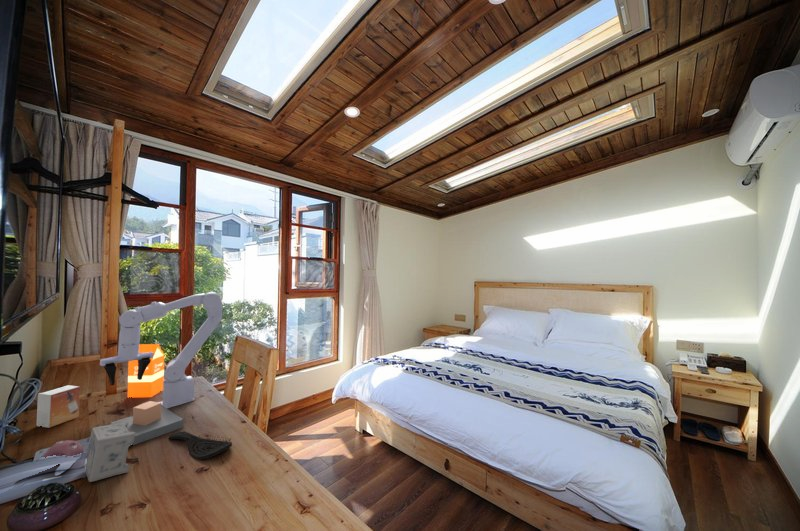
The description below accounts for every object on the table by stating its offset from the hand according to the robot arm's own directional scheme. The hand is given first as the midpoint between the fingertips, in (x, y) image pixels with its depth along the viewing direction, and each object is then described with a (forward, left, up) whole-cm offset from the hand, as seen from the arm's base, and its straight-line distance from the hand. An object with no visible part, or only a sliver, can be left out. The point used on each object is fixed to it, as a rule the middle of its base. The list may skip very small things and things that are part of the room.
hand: (126, 381), depth 111 cm
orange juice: (-10, -13, -11) cm, 20 cm away
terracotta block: (0, +21, -8) cm, 22 cm away
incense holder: (+13, +38, -11) cm, 41 cm away
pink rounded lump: (+20, +26, -11) cm, 34 cm away
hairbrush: (-5, +44, -11) cm, 45 cm away
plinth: (0, +21, -11) cm, 23 cm away
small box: (+15, -8, -11) cm, 20 cm away
